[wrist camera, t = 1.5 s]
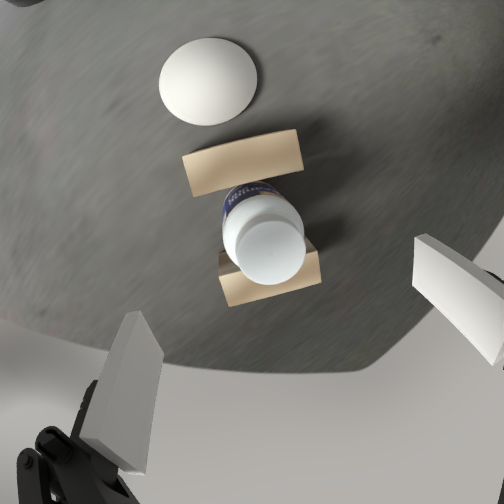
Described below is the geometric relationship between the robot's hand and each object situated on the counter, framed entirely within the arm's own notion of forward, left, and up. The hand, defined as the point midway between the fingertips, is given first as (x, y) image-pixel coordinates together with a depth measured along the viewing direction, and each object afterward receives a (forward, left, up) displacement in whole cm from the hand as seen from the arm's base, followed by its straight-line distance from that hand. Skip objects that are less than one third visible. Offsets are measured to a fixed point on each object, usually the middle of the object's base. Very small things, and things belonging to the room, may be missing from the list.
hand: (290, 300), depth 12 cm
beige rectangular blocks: (0, 0, -14) cm, 14 cm away
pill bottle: (0, 0, -14) cm, 14 cm away
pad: (-12, -1, -14) cm, 19 cm away
